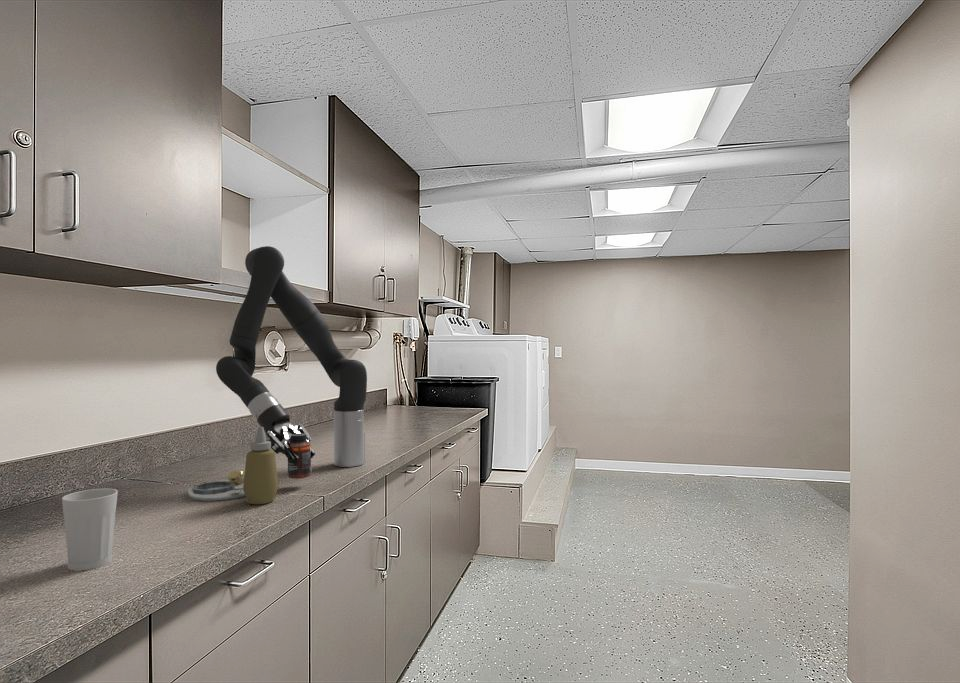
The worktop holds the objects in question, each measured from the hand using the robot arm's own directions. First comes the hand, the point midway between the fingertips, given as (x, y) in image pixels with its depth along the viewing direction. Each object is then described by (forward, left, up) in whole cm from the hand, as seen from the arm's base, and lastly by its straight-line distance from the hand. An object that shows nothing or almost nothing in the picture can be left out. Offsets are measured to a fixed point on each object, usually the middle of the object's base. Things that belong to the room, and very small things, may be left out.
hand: (304, 458), depth 148 cm
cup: (+55, -2, -8) cm, 56 cm away
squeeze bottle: (+15, -1, -8) cm, 17 cm away
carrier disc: (+11, -17, -8) cm, 22 cm away
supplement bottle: (0, -2, -5) cm, 5 cm away
